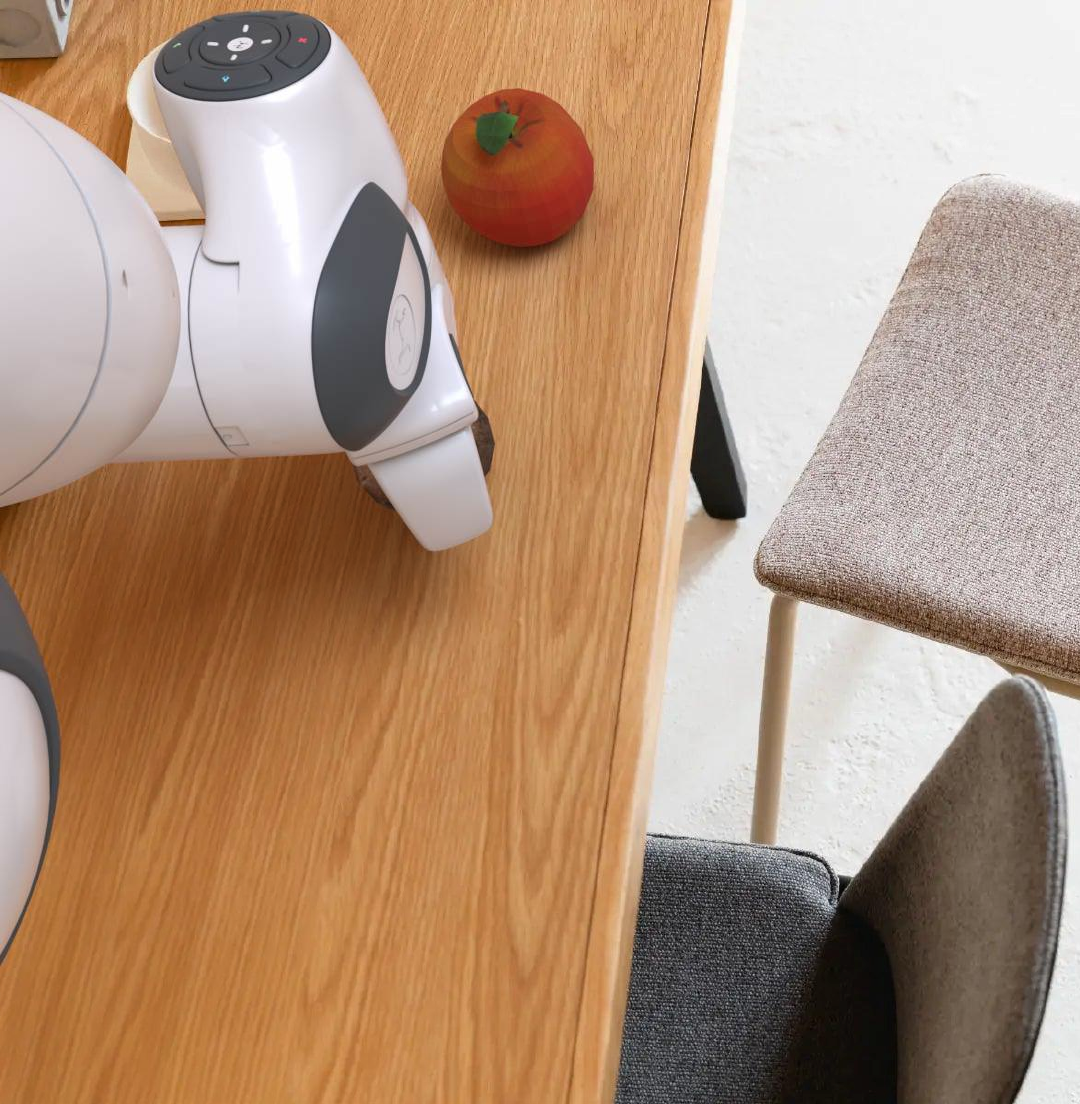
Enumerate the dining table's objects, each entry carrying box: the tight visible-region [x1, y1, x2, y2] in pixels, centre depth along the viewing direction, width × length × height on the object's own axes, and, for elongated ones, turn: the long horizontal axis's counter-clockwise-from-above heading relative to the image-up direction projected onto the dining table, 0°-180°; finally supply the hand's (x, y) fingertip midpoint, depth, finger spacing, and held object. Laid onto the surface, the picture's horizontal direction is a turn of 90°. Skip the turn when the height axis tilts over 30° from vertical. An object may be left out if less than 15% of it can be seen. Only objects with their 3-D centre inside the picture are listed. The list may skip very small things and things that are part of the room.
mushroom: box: [352, 398, 496, 514], centre depth 84 cm, size 8×8×6 cm
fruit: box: [440, 87, 595, 248], centre depth 93 cm, size 10×10×10 cm
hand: (428, 454), depth 84 cm, fingers closed on mushroom, 7 cm apart
